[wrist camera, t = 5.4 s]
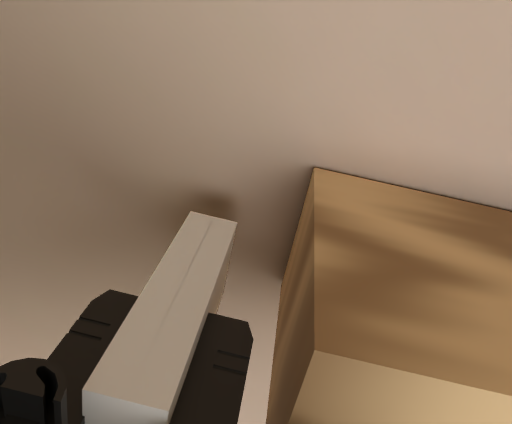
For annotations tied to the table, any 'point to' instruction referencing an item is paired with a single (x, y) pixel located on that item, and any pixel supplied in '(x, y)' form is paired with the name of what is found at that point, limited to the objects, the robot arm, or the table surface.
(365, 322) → the plug
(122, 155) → the table surface
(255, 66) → the table surface
